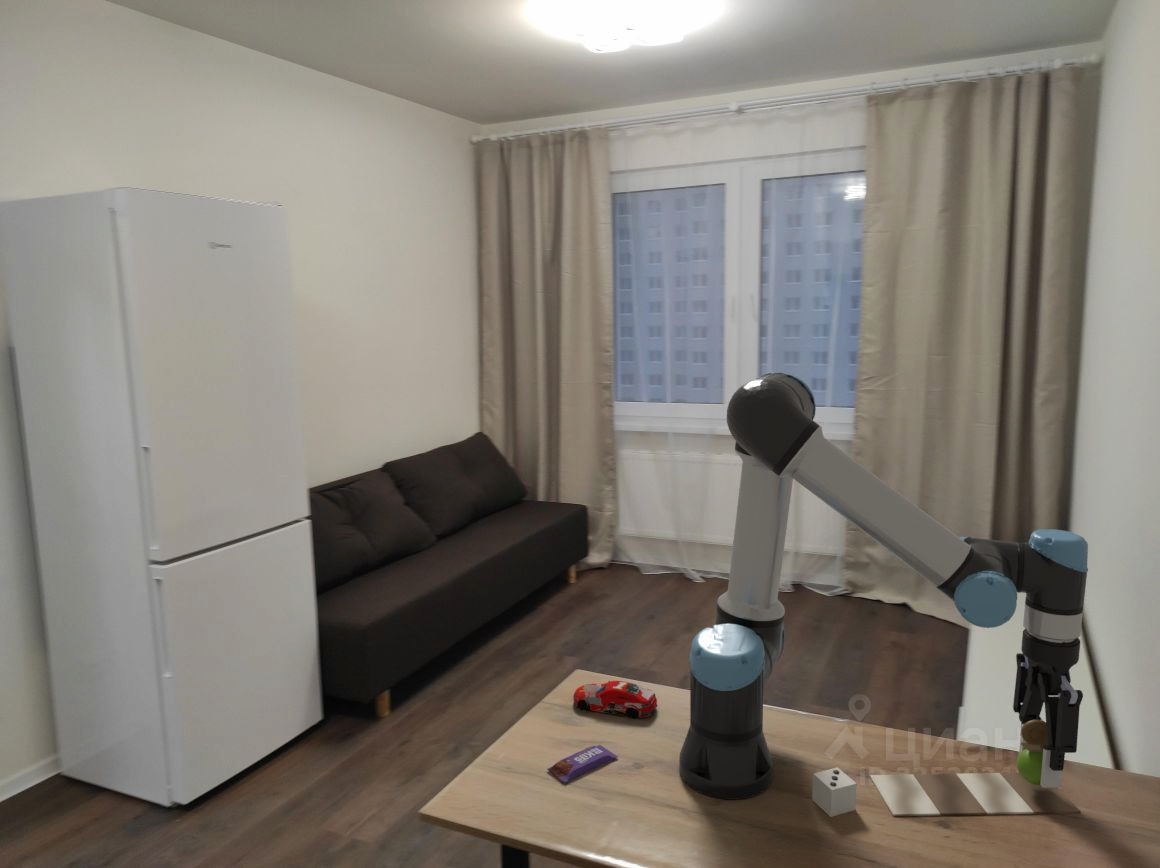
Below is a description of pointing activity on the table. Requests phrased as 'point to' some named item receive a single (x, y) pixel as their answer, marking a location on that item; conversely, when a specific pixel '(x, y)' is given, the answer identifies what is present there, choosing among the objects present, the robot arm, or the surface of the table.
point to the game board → (968, 795)
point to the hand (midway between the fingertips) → (1039, 773)
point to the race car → (616, 699)
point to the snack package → (581, 762)
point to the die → (834, 791)
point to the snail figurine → (1032, 751)
